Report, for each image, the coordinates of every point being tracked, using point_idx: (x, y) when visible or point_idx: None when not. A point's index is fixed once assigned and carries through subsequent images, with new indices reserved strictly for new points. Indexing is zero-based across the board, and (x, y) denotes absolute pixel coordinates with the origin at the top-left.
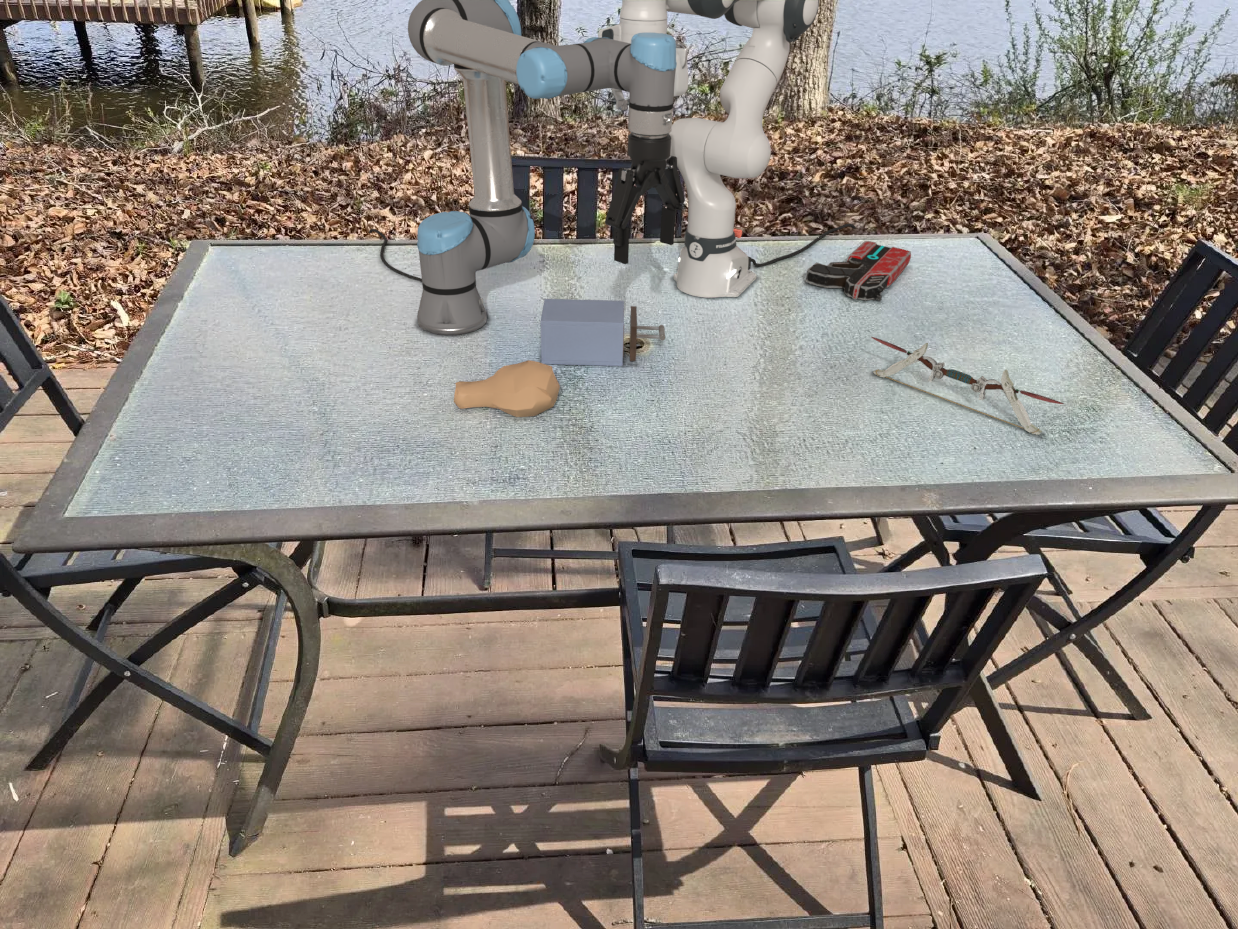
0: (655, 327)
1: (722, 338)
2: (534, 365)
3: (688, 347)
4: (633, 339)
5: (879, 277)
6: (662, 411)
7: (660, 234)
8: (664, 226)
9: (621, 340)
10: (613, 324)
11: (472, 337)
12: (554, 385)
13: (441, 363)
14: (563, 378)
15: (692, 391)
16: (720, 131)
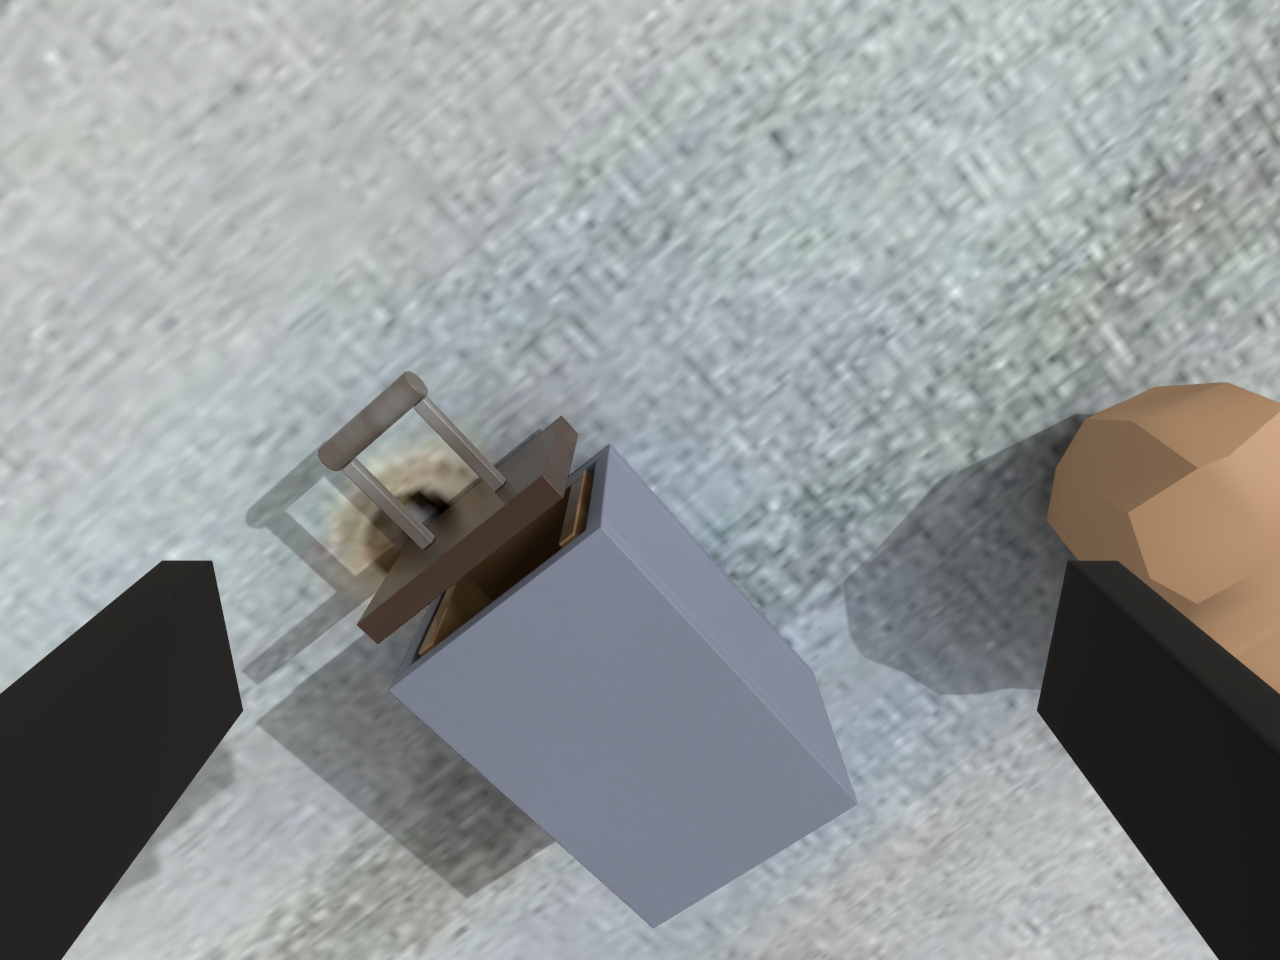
0: (362, 474)
1: (42, 276)
2: (1223, 553)
3: (250, 340)
4: (561, 460)
5: None
6: (832, 30)
7: (199, 767)
8: (114, 810)
9: (611, 494)
10: (638, 560)
11: (807, 942)
12: (1196, 419)
13: (1021, 887)
14: (854, 543)
15: (578, 41)
16: None
